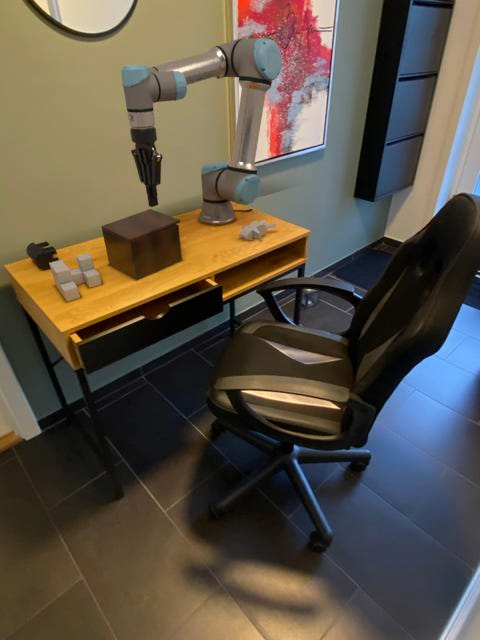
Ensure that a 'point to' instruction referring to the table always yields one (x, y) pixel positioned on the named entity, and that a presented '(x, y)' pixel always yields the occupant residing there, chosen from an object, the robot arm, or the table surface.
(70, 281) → the grey cube cluster
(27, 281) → the table surface
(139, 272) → the chest
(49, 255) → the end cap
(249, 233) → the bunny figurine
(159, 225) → the chest lid
